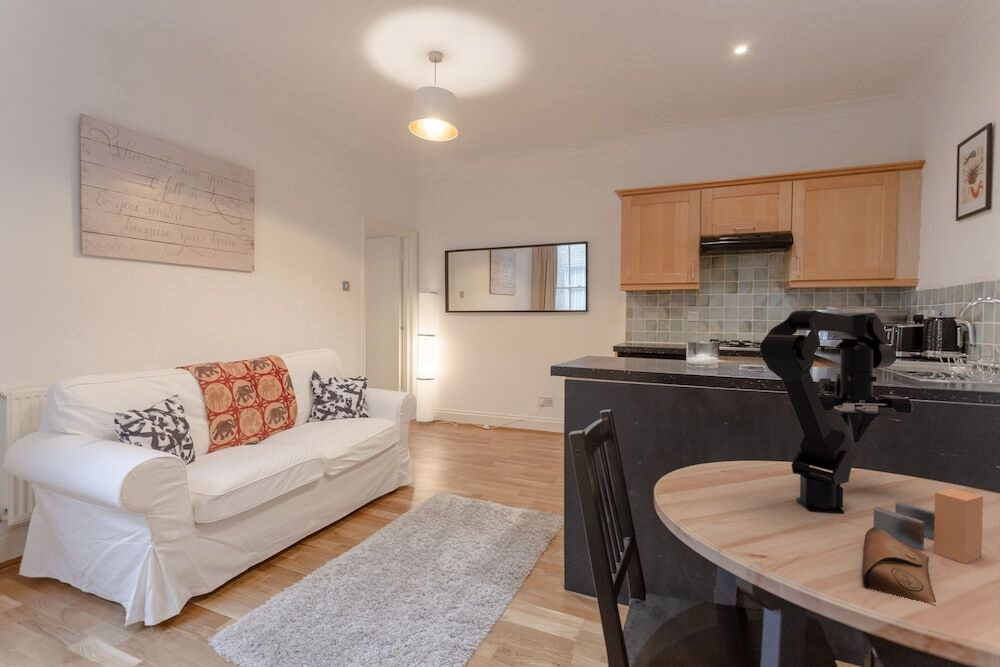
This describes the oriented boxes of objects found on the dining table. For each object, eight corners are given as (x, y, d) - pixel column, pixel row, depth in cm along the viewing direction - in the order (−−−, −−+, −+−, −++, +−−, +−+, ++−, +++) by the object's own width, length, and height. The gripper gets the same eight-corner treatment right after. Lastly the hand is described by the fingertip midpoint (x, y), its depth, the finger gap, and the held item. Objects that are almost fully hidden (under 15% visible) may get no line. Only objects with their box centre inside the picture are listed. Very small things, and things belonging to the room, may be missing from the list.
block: (933, 552, 79) (935, 492, 79) (950, 546, 81) (951, 488, 81) (965, 563, 75) (966, 500, 75) (981, 557, 77) (983, 496, 77)
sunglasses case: (942, 608, 64) (909, 558, 66) (884, 618, 68) (854, 570, 70) (929, 556, 78) (902, 516, 80) (881, 566, 82) (857, 528, 84)
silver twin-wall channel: (873, 534, 86) (873, 507, 86) (898, 527, 89) (898, 501, 89) (919, 552, 80) (920, 522, 80) (945, 543, 83) (946, 515, 83)
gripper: (883, 367, 110) (882, 435, 110) (793, 366, 114) (792, 431, 114) (915, 372, 99) (913, 448, 99) (814, 371, 103) (813, 443, 103)
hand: (854, 442), depth 104 cm, fingers closed
